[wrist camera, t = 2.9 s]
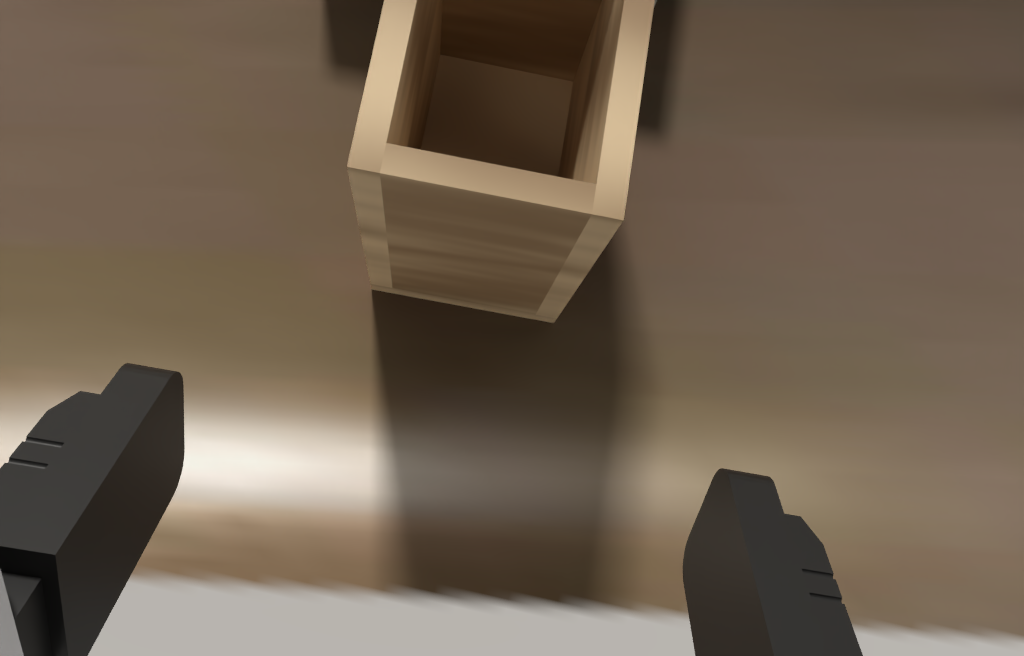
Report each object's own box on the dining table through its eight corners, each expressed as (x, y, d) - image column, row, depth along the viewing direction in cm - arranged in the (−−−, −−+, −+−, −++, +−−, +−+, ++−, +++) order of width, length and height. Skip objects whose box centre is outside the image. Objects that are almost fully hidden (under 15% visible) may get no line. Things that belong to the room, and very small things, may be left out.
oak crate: (553, 323, 28) (623, 220, 19) (371, 289, 28) (347, 166, 18) (592, 77, 31) (673, -130, 21) (423, 42, 30) (425, -185, 20)
